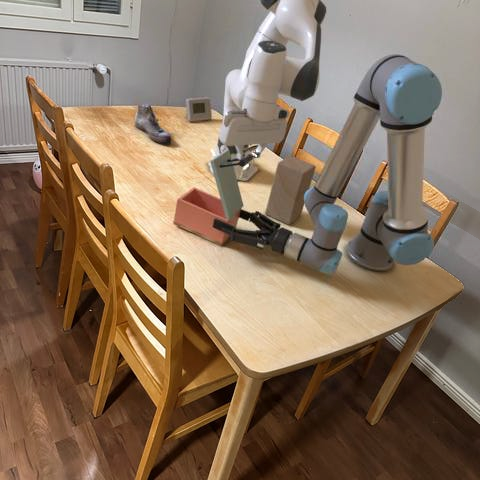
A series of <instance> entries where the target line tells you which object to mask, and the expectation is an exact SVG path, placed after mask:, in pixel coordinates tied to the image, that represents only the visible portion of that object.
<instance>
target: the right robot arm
mask: <svg viewBox="0 0 480 480" xmlns="http://www.w3.org/2000/svg"><path fill="white" fill-rule="evenodd" d="M442 98H443V87H442V84H441V81H440V79H439V77H438V76H437V75H436V73H434V72H433V71H432V70H431V69H430V68H429V67H428V66H426V65H424V64H421V63H418V62H416V61H414V60H412V59H410V58H409V57H407V56H405V55H404V54H403V55H402V54H387V55H385V56H383V57H381V58H379V59H378V60H376V61H375V62H374V63H373V64H372V65H371V67H370V68H368V70H367V71H366V73H365V74H364V76H363V77H362V80H361V82H360V84H359V85H358V88H357V89H356V92H355V93H354V96H353V98H352V99H353V102H354V104H353V107H352V109H351V110H350V113H349V115H348V117H347V119H346V121H345V123H344V125H343V127H342V129H341V131H340V133H339V135H338V137H337V139H336V142H335V144H334V145H333V148H332V149H331V152H330V153H329V155H328V157H327V160H326V162H325V164H324V166H323V167H322V170H321V172H320V174H319V176H318V177H317V180H316V182H315V184H314V185H313V186H310V187H309V190H307V191H306V193H305V195H304V202H305V204H304V207H305V209H306V211H307V213H308V215H309V217H310V219H311V222H312V225H313V227H314V229H313V233H312V236H311V238H310V237H307V236H305V235H303V234H300V233H298V232H293V231H292V230H290V229H288V228H286V227H281V226H282V224H281V223H279V222H277V221H274V220H273V219H271V218H270V217H268V216H267V215H266V214H263V213H262V212H260V211H259V210H255V212H250V211H247V210H245V209H242V208H241V211H240V215H239V219H242V220H244V221H246V222H249V223H252V224H253V225H254V226H255V227H256V228H257V229H256V230H248V229H240V228H236V229H235V227H234V226H231V225H229V224H227V223H224V222H222V221H220V220H217V219H214V222H213V228H215V229H218V230H220V231H222V232H224V233H226V234H228V235H230V237H229V241H230V242H231V243H233V242H234V243H237V244H241V245H246V246H248V247H249V246H250V247H253V248H256V249H259V250H261V251H262V250H263V251H264V247H265V246H269V247H270V248H271V251H272V252H274V253H277V254H279V255H284V256H285V258H288V259H291V260H293V261H295V262H298V263H300V264H302V265H305V266H307V267H309V268H311V269H314V270H315V271H317V272H319V273H322V274H326V275H329V276H331V275H334V274H335V273H336V271H337V269H338V267H339V265H340V262H341V260H342V257H343V252H342V251H341V250H339V249H338V245H339V243H340V240H341V238H342V236H343V233H344V231H345V229H346V227H347V222H348V219H349V213H348V211H347V209H345V208H343V207H342V206H341V205H339V204H335V203H336V201H337V199H338V197H339V195H340V193H341V191H342V189H343V188H344V185H345V184H346V182H347V180H348V178H349V177H350V174H351V173H352V171H353V169H354V167H355V165H356V163H357V161H358V160H359V158H360V156H361V155H362V152H363V150H364V148H365V147H366V145H367V143H368V141H369V139H370V137H371V136H372V133H373V131H374V130H375V128H376V126H377V124H378V122H380V123H379V124H380V127H381V128H382V129H384V130H385V131H386V145H387V146H386V150H387V151H386V152H387V190H379V191H377V192H376V193H375V194H374V195H373V197H372V199H371V200H370V203H369V204H370V205H369V207H368V210H367V212H366V215H365V217H364V220H363V222H362V224H361V227H360V230H359V231H358V232H357V233H356V235H355V236H354V237H353V238H350V239H349V241H348V244H347V247H346V249H345V250H346V254H347V256H348V258H349V259H350V260H351V261H352V262H354V263H355V264H357V265H358V266H360V267H362V268H364V269H367V270H370V271H375V272H386V271H389V270H390V269H392V267H393V265H394V263H397V264H399V265H401V266H412V265H416V264H419V263H421V262H423V261H424V260H425V259H426V258H428V257H429V256H430V255H431V254H432V253H433V251H434V248H435V241H434V239H433V236H432V235H431V234H429V215H428V214H429V213H428V212H427V211H426V210H425V209H423V197H424V196H423V195H424V163H425V162H424V161H425V138H426V137H425V136H426V135H425V133H426V131H425V130H426V128H427V127H428V126H429V125H430V124H432V121H433V115H434V114H435V111H436V110H438V108H439V107H440V104H441V102H442Z"/></svg>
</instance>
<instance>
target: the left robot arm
mask: <svg viewBox="0 0 480 480" xmlns="http://www.w3.org/2000/svg"><path fill="white" fill-rule="evenodd" d="M260 4H261V5H262V6H263V7H264V8H265V9H266V10H267V11H269V12H268V14H267V15H266V17H265V19H264V20H263V21H262V22H261V24H260V26H259V28H258V29H257V31H256V33H255V35H254V37H253V39H252V41H251V42H250V44H249V46H248V48H247V49H246V53H245V57H244V61H243V65H242V67H241V68H235V69H232V70H231V71H229V72H228V73H227V75H226V77H225V84H224V85H225V88H224V97H223V116H222V122H221V127H220V131H219V136H218V139H217V145H216V146H215V147H214V149H210V152H211V153H212V157H211V160H212V159H213V158H215V157H216V156H218V155H219V154H221V153H222V152H224V151H225V150H229V151H230V155H231V159H234V158H238V159H239V160H242V159H244V158H245V157H246V156H247V155H248V154H251V155H252V156H253V160H251V161H250V162H249V163H248V164H246V165H245V166H244V167H241V166H240V165H236V166H234V170H235V174H236V178H237V181H242V182H247V181H249V179H251V177H253V176H254V175H255V174H256V173H257V172H258V171H259V166H257V165H255V164H254V163H255V159H260V158H261V155H262V153H263V152H264V150H265V149H266V146H267V144H277V143H279V144H281V142H282V141H283V140H284V139H285V136H286V132H287V127H288V120H287V119H289V117H290V111H289V110H287V109H286V108H284V107H283V106H281V105H280V104H278V102H279V94H280V95H283V96H287V97H291V98H292V99H296V100H298V101H300V102H304V101H307V100H308V99H310V98H312V97H314V96H315V94H316V92H317V90H318V88H319V84H320V80H321V78H320V77H321V76H320V74H321V73H320V59H321V46H322V25H323V23H324V21H325V19H326V14H327V6H326V5H325V3H324V2H323V1H322V0H260ZM289 41H290V42H292V43H294V44H296V45H298V46H299V47H301V48H302V49H303V50H304V53H305V54H304V58H297V57H293V56H288V55H287V54H288V49H287V47H286V46H287V44H288V43H289ZM254 148H256V149H254ZM251 149H254V150H253V151H252V152H251V151H250V150H251ZM236 162H239V161H234V162H232V163H236ZM207 165H208V166H209V170H210V172H211V173H212V174H213V175H214V173H213V170H212V166H211V162H210V161H208V164H207Z"/></svg>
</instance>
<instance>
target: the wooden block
mask: <svg viewBox="0 0 480 480" xmlns="http://www.w3.org/2000/svg"><path fill="white" fill-rule="evenodd" d="M316 168H317V166H316V165H315V164H313V163H310V162H308V161H305V160H302V159H300V158H297V157H295V156H292V155H289V156H288V157H286V158H284V159H282V160H280V161H278V162H277V165H276V169H275V172H274V177H273V180H272V185H271V189H270V192H269V197H268V200H267V204H266V208H265V212H264V215H265V216H267V217H268V216H269V217H270V218H273V219H275V220H277V221H279V222H281V223H283V224H285V225H287V226H290V225H291V224H293V223H294V222H295V221H296V220H298V218H300V217H301V216H302V213H303V210H304V207H305V202H304V195H305V193H306V191H307V190H309V189H310V188H311V184H312V182H313V178H314V175H315V171H316Z"/></svg>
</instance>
